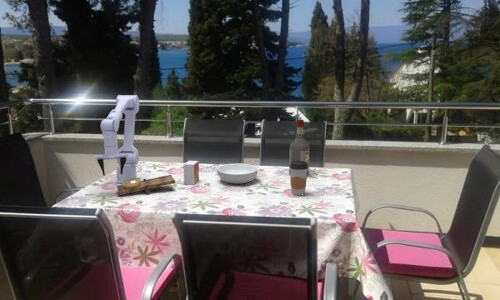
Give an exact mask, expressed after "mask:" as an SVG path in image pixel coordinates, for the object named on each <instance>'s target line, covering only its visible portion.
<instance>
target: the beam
mask: <svg viewBox="0 0 500 300" xmlns="http://www.w3.org/2000/svg"><path fill="white" fill-rule="evenodd" d="M140 181H141V186H140V187H137V188H133V189H124V186H123V184H120V185H116V186H117V193H118V195H119V196H121V195H126V194H131V193H135V192H139V191H144V190H146V185H149V189H155V188H160V187H164V186H168V185H172V184H176V180H175V179H174V177H173V176H172V174H168V175H162V176H158V177H157V176H156V177H153V178H148V179H146V180H144V179H143V180H140Z"/></svg>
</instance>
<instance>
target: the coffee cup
mask: <svg viewBox="0 0 500 300" xmlns="http://www.w3.org/2000/svg"><path fill="white" fill-rule="evenodd" d="M307 168H308V165H307V162H305V161H292V162H291V164H290V174H289V177H290V192H291V195H292V194H294V195H293V196H295V195H302V194H304V195H305V194H306V188H307V179H308V177H307V176H308V175H307ZM302 196H303V195H302Z"/></svg>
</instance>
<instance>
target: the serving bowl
mask: <svg viewBox="0 0 500 300" xmlns="http://www.w3.org/2000/svg"><path fill="white" fill-rule="evenodd" d="M258 171H259V168H258V167H257V166H255V165H253V164H249V163H237V162H236V163H226V164H222V165H219V166H217V168H216V172H217V175H218V177H219V178H220V180H222V181H224V182H226V183H231V184H235V185H236V184H239V185H240V184H246V183H249V182H251V181H253V180H254V179H255V178H256V176H257V175H258Z"/></svg>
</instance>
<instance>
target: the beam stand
mask: <svg viewBox="0 0 500 300" xmlns="http://www.w3.org/2000/svg"><path fill="white" fill-rule="evenodd" d="M143 180H147V179H146V178H143ZM150 189H151V188H150ZM150 189H149V185H146V190H143V191H144V194H145V195H146V196H149V195H151V190H150Z"/></svg>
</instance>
